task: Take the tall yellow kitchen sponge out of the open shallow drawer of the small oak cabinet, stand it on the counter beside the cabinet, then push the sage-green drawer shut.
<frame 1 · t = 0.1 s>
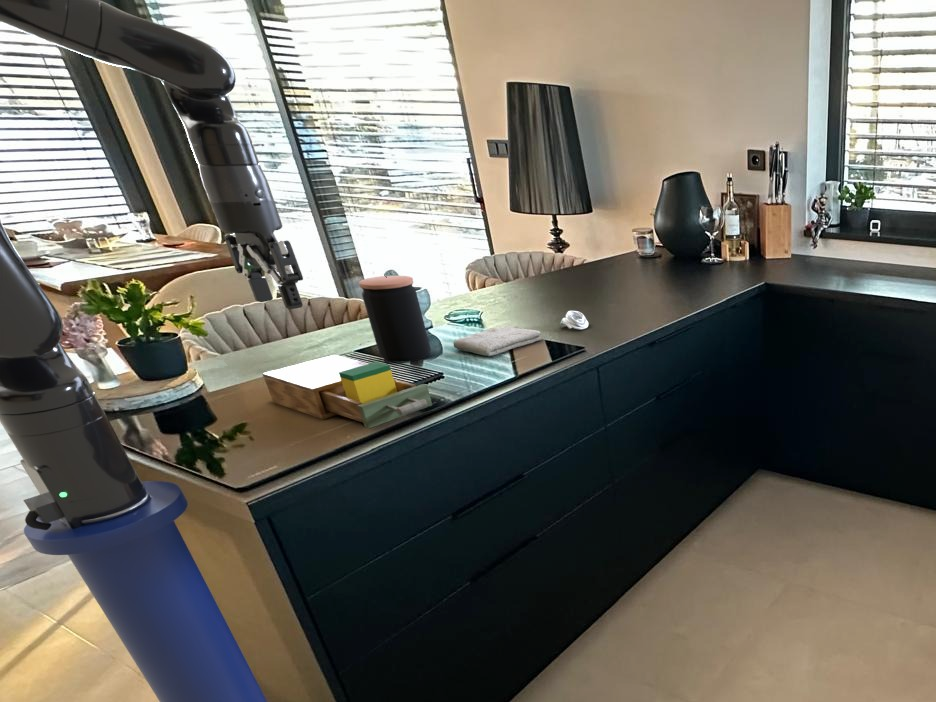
hand: (279, 304, 101), 23 cm above the counter, tool pointing down, fingers open, 8 cm apart
washcloth: (501, 346, 158), on the counter
sponge: (375, 403, 119), point 2 cm above the counter, touching drawer
cabinet: (334, 399, 125), on the counter
drawer: (380, 400, 117), point 3 cm above the counter, slide at 12.0 cm, touching sponge
whipped cream: (576, 327, 174), on the counter
coffee jar: (407, 356, 149), on the counter
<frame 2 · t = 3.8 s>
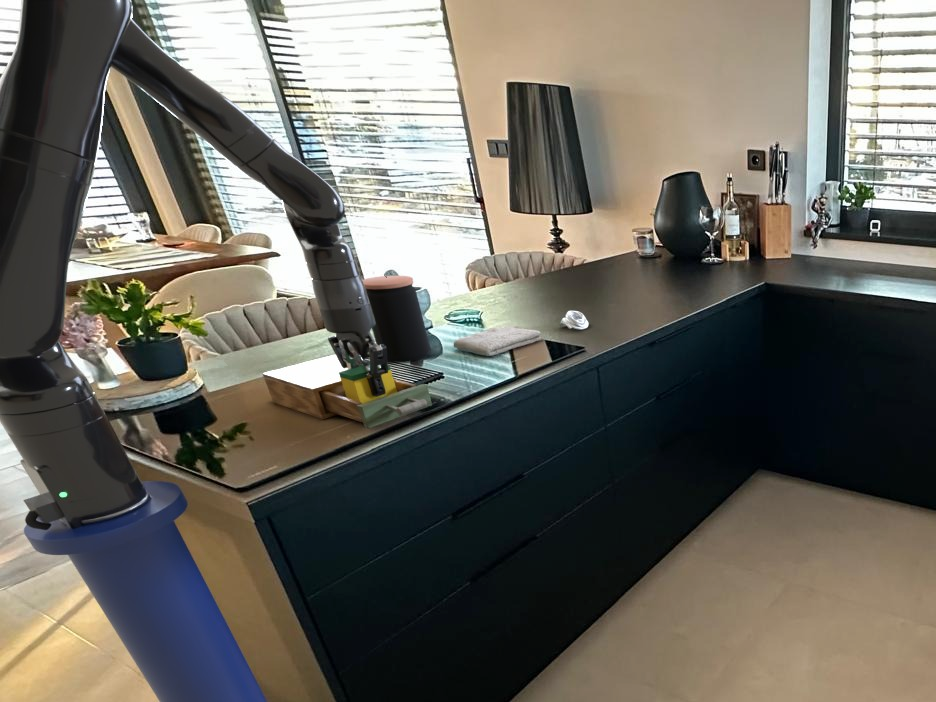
hand: (371, 392, 118), 4 cm above the counter, tool pointing down, fingers closed on sponge, 4 cm apart
sponge: (375, 403, 119), point 2 cm above the counter, touching drawer, gripper
everything else where it was.
when the fingers open (2 cm above the counter, at t = 10.8 s): sponge stays where it is, on the counter.
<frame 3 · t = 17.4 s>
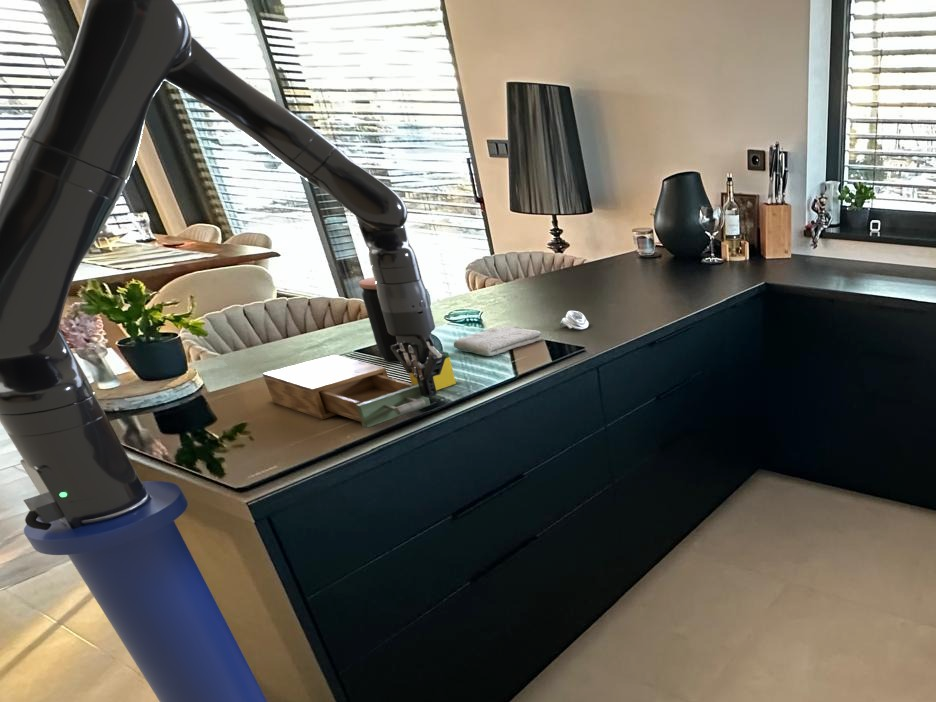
hand: (429, 395, 119), 3 cm above the counter, tool pointing down, fingers closed
sponge: (435, 387, 132), on the counter
drawer: (378, 399, 118), point 3 cm above the counter, slide at 11.5 cm, touching gripper
everything else where it was.
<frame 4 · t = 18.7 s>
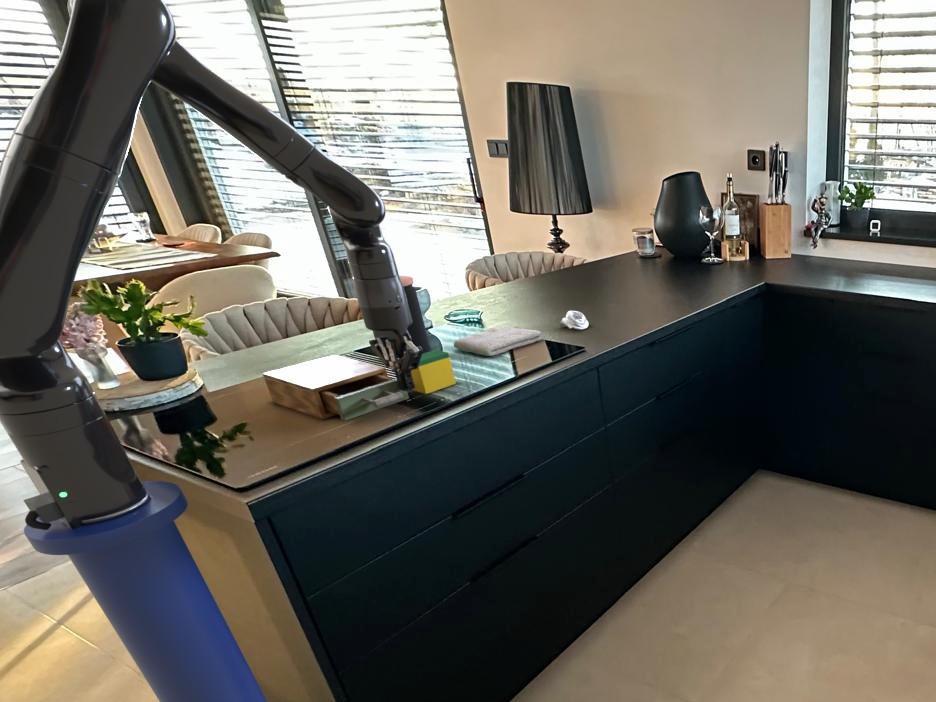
hand: (407, 389, 121), 3 cm above the counter, tool pointing down, fingers closed
drawer: (357, 393, 120), point 3 cm above the counter, slide at 5.0 cm, touching gripper
everything else where it was.
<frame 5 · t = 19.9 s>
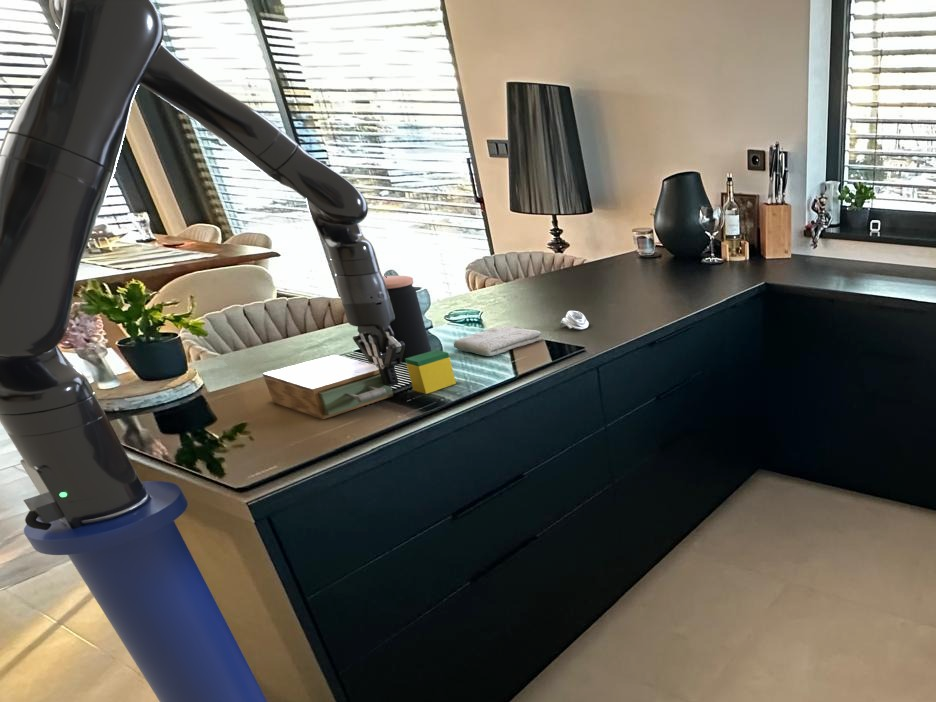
hand: (391, 384, 123), 3 cm above the counter, tool pointing down, fingers closed
drawer: (342, 388, 122), point 3 cm above the counter, slide at 0.0 cm, touching cabinet, gripper
everything else where it was.
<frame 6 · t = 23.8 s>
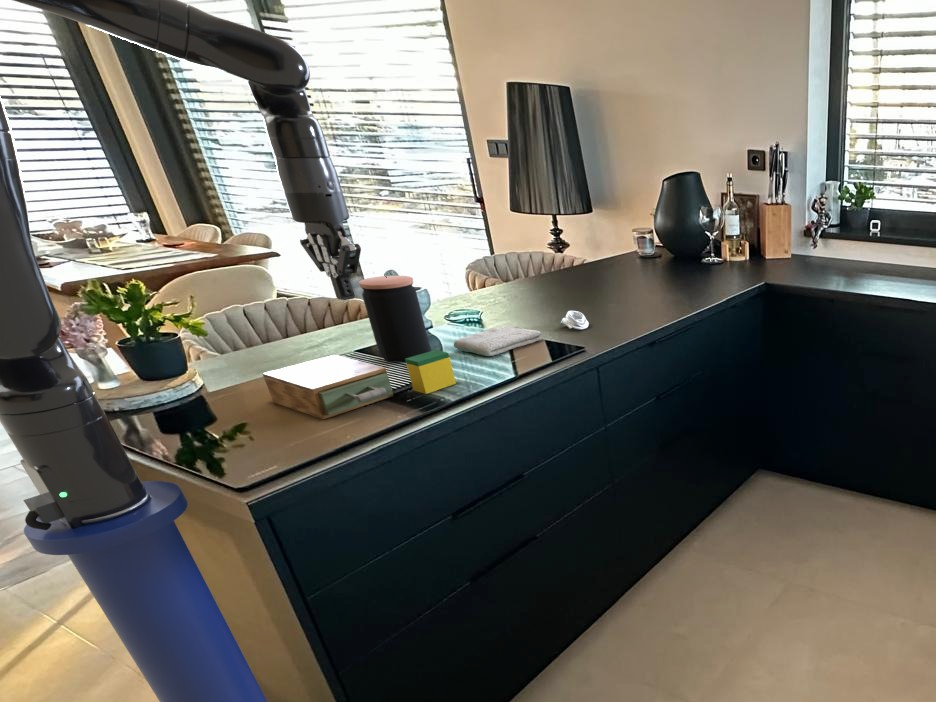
hand: (346, 298, 106), 23 cm above the counter, tool pointing down, fingers closed
drawer: (342, 388, 122), point 3 cm above the counter, slide at 0.0 cm, touching cabinet
everything else where it was.
at the end: sponge inside the target area (0.1 cm from its centre), on the counter; the gripper is holding nothing; drawer slide at 0.0 cm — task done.
